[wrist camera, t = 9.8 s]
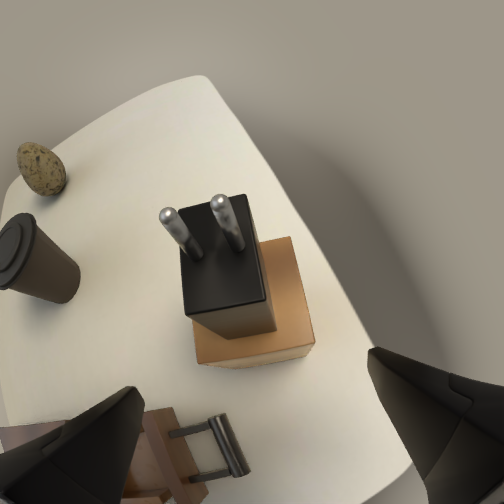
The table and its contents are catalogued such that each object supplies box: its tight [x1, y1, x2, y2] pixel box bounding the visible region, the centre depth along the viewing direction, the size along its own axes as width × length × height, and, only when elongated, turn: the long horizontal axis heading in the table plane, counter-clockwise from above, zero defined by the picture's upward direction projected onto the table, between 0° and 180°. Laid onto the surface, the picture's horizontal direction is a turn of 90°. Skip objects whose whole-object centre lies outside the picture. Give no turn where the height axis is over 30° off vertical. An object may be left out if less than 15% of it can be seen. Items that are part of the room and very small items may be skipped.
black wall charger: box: [159, 194, 277, 340], centre depth 11 cm, size 4×3×9 cm, turn 10°
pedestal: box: [192, 236, 315, 369], centre depth 19 cm, size 6×6×10 cm
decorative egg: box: [17, 142, 66, 196], centre depth 31 cm, size 6×6×10 cm
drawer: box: [120, 407, 251, 504], centre depth 17 cm, size 16×8×4 cm, turn 112°
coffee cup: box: [0, 213, 80, 304], centre depth 24 cm, size 8×8×10 cm
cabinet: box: [0, 420, 70, 452], centre depth 17 cm, size 13×10×6 cm
